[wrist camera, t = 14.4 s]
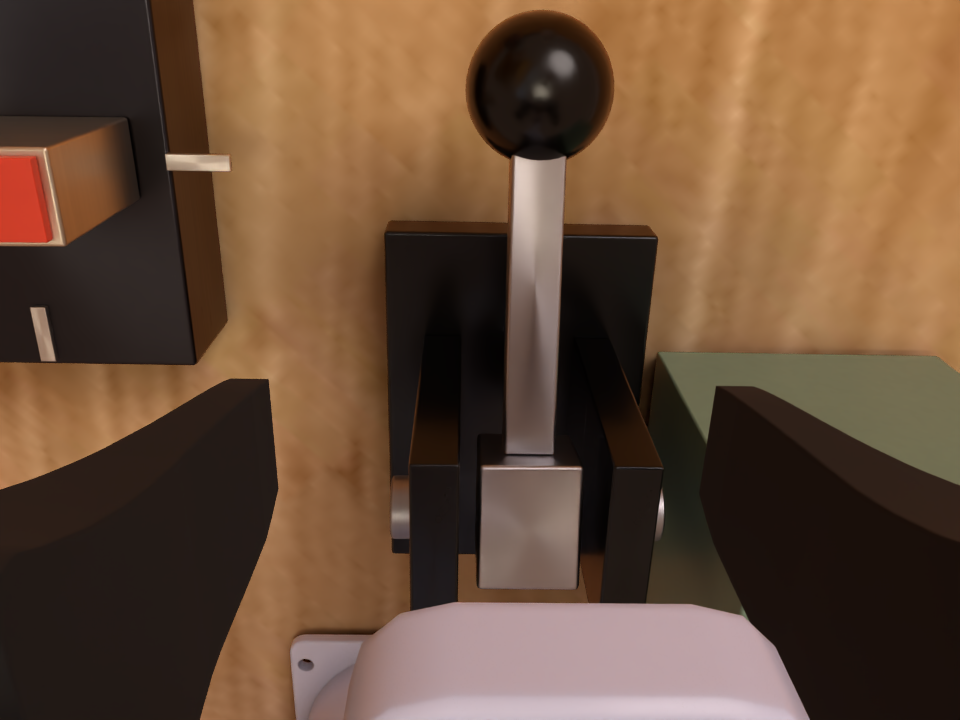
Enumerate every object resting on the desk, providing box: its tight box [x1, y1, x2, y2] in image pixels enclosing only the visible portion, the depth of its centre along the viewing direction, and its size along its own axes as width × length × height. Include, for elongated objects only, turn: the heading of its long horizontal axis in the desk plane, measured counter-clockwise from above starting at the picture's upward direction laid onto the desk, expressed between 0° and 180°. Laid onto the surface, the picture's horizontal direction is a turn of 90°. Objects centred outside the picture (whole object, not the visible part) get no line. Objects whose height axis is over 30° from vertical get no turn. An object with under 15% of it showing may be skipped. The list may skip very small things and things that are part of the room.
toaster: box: [646, 352, 960, 621], centre depth 21 cm, size 10×8×9 cm
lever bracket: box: [384, 221, 665, 611], centre depth 20 cm, size 10×7×8 cm
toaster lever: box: [466, 10, 614, 590], centre depth 18 cm, size 12×3×3 cm, turn 179°
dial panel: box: [0, 0, 232, 365], centre depth 19 cm, size 10×10×3 cm
